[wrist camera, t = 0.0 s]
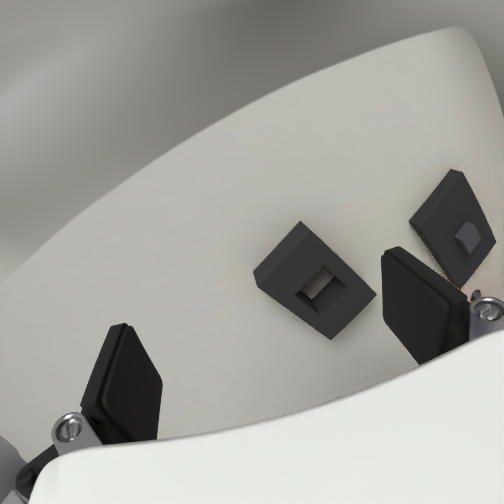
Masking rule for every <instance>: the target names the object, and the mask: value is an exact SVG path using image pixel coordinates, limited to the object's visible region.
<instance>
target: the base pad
mask: <svg viewBox="0 0 504 504" xmlns="http://www.w3.org/2000/svg"><path fill="white" fill-rule="evenodd" d="M409 222H410V224H411V225H412V226H413V228H414V229H415V230H416V232H417V233H418V234H419V236H420V237H421V239H422V240H423V241H424V243H425V244H426V246H427V247H428V248H429V250H430V251H431V253H432V254H433V256H434V257H435V259H436V260H437V262H438V263H439V265H440V266H441V268H442V269H443V271H444V272H445V274H446V275H447V277H448V278H449V280H450V282H451V283H452V284H454V285H455V286H456V287H458V288H459V289H461V288H462V287H463V286H464V284H465V283H466V282H467V281H468V279H469V278H470V277H471V276H472V274H473V273H474V272H475V270H476V269H477V268H478V267H479V265H480V264H481V263H482V261H483V260H484V259H485V257H486V256H487V255H488V253H489V252H490V250H491V249H492V248H493V246H494V245H495V243H496V240H495V238H494V235H493V233H492V231H491V228H490V226H489V224H488V222H487V219H486V217H485V215H484V213H483V211H482V209H481V207H480V205H479V203H478V201H477V199H476V197H475V195H474V193H473V191H472V189H471V187H470V185H469V183H468V181H467V179H466V178H465V176H464V174H463V172H460V171H457V170H453V169H450V171H449V172H448V173H447V175H446V176H445V177H444V178H443V180H442V181H441V182H440V184H439V185H438V186H437V187H436V189H435V190H434V191H433V192H432V194H431V195H430V196H429V197H428V199H427V200H426V201H425V202H424V204H423V205H422V206H421V207H420V208H419V210H418V211H417V212H416V213H415V214H414V216H413V217H412V218H411V219H410V220H409Z"/></svg>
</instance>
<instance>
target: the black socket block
mask: <svg viewBox="0 0 504 504" xmlns="http://www.w3.org/2000/svg"><path fill="white" fill-rule="evenodd" d="M323 266H324V267H326V268H327V269H328V270H329V271H330V272H331V273H332V274H333V275H334V276H335V277H334V278H333V279H332V280H331V281H330V282H329V283H328V284H327V285H326V286H325V287H324V288H323V289H322V290H321V291H320V292H319V293H318V294H317V295H316V296H315V297H314V298H313V299H312V300H311V299H310V298H309V297H307V296H306V295H305V294H304V293H302V292H301V291H300V289H301V288H302V287H303V286H304V285H305V284H306V283H307V282H308V281H309V280H310V279H311V278H312V277H313V276H314V275H315V274H316V273H317V272H318V271H319V270H320V269H321V268H322V267H323ZM253 274H254V277H255V280H256V284H257V287H258V288H260V289H261V290H262V291H264V292H265V293H266V294H268V295H269V296H271V297H272V298H273V299H275V300H276V301H277V302H279V303H280V304H281V305H283V306H284V307H286V308H287V309H289V310H290V311H291V312H293V313H294V314H295V315H297V316H298V317H300V318H301V319H302V320H304V321H305V322H306V323H308V324H309V325H310V326H312V327H313V328H315V329H316V330H317V331H319V332H320V333H321V334H323V335H324V336H326V337H327V338H328V339H330V340H332V339H333V338H334V337H335V336H336V335H337V334H338V333H339V332H340V331H341V330H342V329H343V328H344V327H345V326H346V325H347V324H348V323H349V322H350V321H352V320H353V319H354V318H355V317H356V316H357V315H358V314H359V313H360V312H361V311H362V310H363V309H364V308H365V307H366V306H367V305H368V304H369V303H370V302H371V300H372V299H373V298H374V297H375V296H376V295H377V294H376V293H375V292H374V291H373V290H372V289H371V288H370V287H369V286H368V285H367V284H366V283H365V282H364V281H363V280H362V279H361V278H360V277H359V276H358V275H357V274H356V273H355V272H354V271H353V270H352V269H351V268H350V267H349V266H348V265H347V264H346V263H345V262H344V261H343V260H342V259H341V258H340V257H339V256H338V255H337V254H335V253H334V252H333V251H332V250H331V249H330V248H329V247H328V246H327V245H326V244H325V243H324V242H323V241H322V240H321V239H320V238H318V237H317V236H316V235H315V234H314V233H313V232H312V231H311V230H310V229H309V228H308V227H307V226H305V225H304V224H303V223H302V222H301V221H300V222H299V223H298V224H297V225H296V226H295V227H294V228H293V229H292V230H291V231H290V232H289V234H288V235H287V236H286V237H285V238H284V239H283V240H282V241H281V242H280V243H279V244H278V245H277V247H276V248H275V249H274V250H273V251H272V252H271V253H270V254H269V255H268V256H267V257H266V258H265V259H264V261H263V262H262V263H261V264H260V265H259V266H258V267H257V268H256V269H255V270H254V271H253Z"/></svg>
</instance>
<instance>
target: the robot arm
mask: <svg viewBox="0 0 504 504" xmlns="http://www.w3.org/2000/svg"><path fill="white" fill-rule="evenodd" d="M381 271H382V298H383V318H384V321H385V323H386V324H387V325H388V327H389V328H390V329H391V330H392V332H393V333H394V334H395V335H396V336H397V338H398V339H399V340H400V341H401V343H402V344H403V345H404V346H405V348H406V349H407V350H408V351H409V353H410V354H411V355H412V356H413V358H414V359H415V360H416V361H417V363H418V364H419V366H417V367H415V368H412V369H410V370H408V371H406V372H403V373H401V374H399V375H397V376H394V377H392V378H390V379H387V380H385V381H382V382H380V383H377V384H375V385H372V386H370V387H367V388H365V389H362V390H359V391H357V392H354V393H351V394H348V395H345V396H343V397H340V398H337V399H334V400H331V401H328V402H325V403H322V404H319V405H316V406H312V407H309V408H306V409H303V410H299V411H296V412H292V413H289V414H285V415H282V416H278V417H274V418H270V419H266V420H262V421H258V422H254V423H250V424H245V425H241V426H236V427H231V428H227V429H222V430H216V431H211V432H206V433H200V434H194V435H187V436H181V437H173V438H166V439H158V440H157V432H158V422H159V413H160V404H161V396H162V387H163V384H162V379H161V377H160V375H159V373H158V372H157V370H156V368H155V367H154V365H153V363H152V361H151V360H150V358H149V356H148V354H147V352H146V351H145V349H144V347H143V345H142V343H141V341H140V340H139V338H138V336H137V334H136V332H135V330H134V328H133V327H132V326H128V325H127V324H126V323H122V324H118V325H114V326H111V327H110V329H109V332H108V334H107V336H106V339H105V341H104V343H103V346H102V348H101V351H100V353H99V356H98V358H97V361H96V363H95V366H94V368H93V371H92V374H91V376H90V379H89V382H88V384H87V387H86V390H85V393H84V395H83V398H82V401H81V404H80V406H81V407H82V411H81V413H78V412H72V413H68V414H66V415H64V416H62V417H61V418H60V419H59V420H58V421H57V422H56V423H55V425H54V427H53V429H52V434H51V436H52V440H53V442H54V444H53V445H52V446H50V447H49V448H48V449H46V450H45V451H44V452H42V453H41V454H40V455H38V456H37V457H36V458H35V459H33V460H32V461H31V462H29V463H28V464H27V465H26V466H24V467H23V468H22V469H21V470H20V471H19V473H18V474H17V478H16V488H17V491H16V492H15V491H14V490H12V491H11V492H10V494H9V495H8V496H7V497H6V499H5V500H4V501H3V502H2V504H504V302H502V301H501V300H499V299H497V298H494V297H480V298H477V299H476V300H474V301H473V302H472V303H469V302H468V301H467V296H466V295H465V294H464V293H463V292H461V291H460V290H459V289H457V288H456V287H455V286H454V285H452V284H451V283H450V282H448V281H447V280H446V279H444V278H443V277H442V276H440V275H439V274H438V273H436V272H435V271H434V270H432V269H431V268H430V267H428V266H427V265H425V264H424V263H423V262H421V261H420V260H419V259H417V258H416V257H414V256H413V255H412V254H410V253H409V252H407V251H406V250H404V249H403V248H402V247H400V246H398V247H394V248H391V249H388V250H386V251H385V252H384V255H382V256H381Z"/></svg>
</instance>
